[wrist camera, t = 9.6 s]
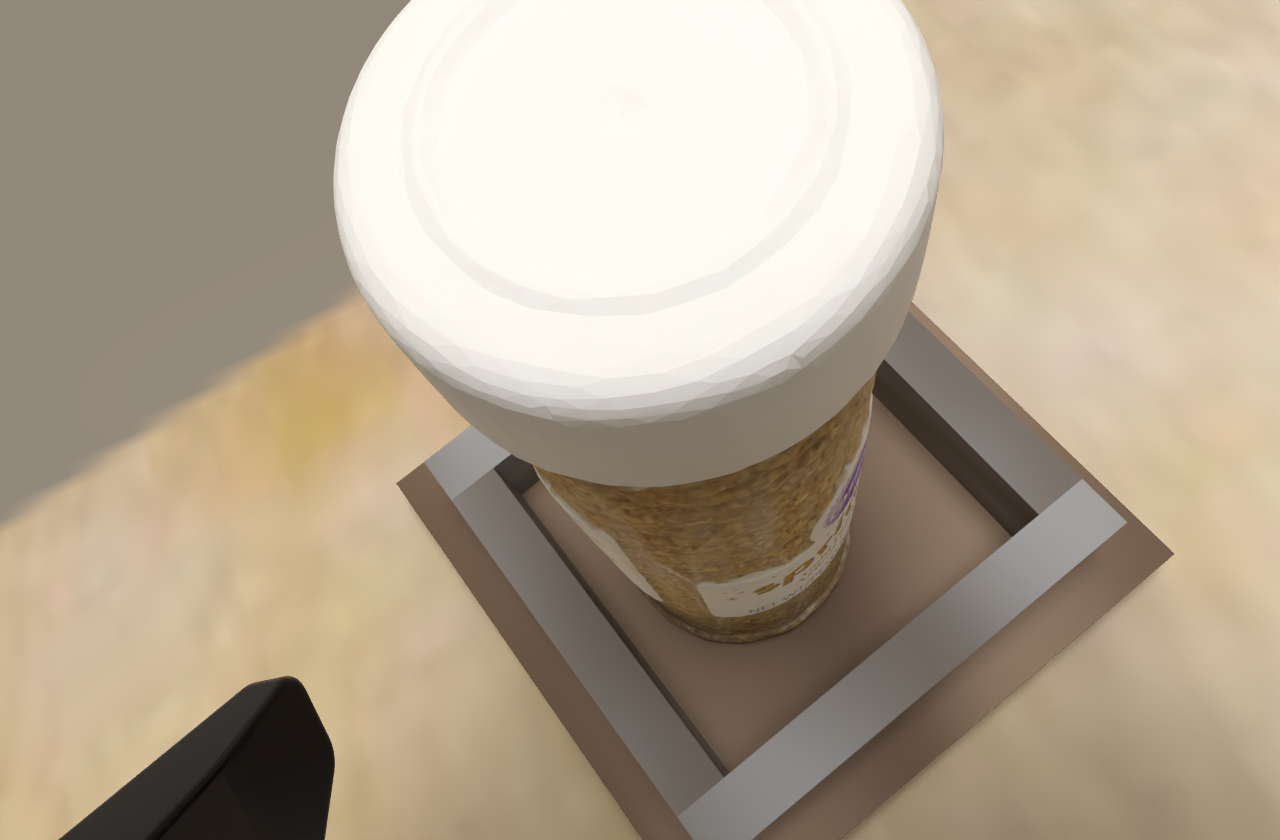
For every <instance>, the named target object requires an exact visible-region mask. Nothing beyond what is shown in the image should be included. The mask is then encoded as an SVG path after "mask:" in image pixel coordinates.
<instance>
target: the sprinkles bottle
mask: <svg viewBox="0 0 1280 840" xmlns="http://www.w3.org/2000/svg"><path fill="white" fill-rule="evenodd" d="M943 146H944V127H943V110H942V103H941V96H940V89H939V83H938V80H937V76H936V73H935V70H934V66H933V63H932V60H931V57H930V55H929V52H928V49H927V46H926V43H925V41H924V39H923V37H922V35H921V32H920V30H919V28H918V26H917V24H916V22H915V21H914V19H913V17H912V16H911V14H910V13H909V11H908V9H907V8H906V6H905V5H904V3H903V1H902V0H411V1H410V2H409V4H407V5H406V6H405V8H404V9H403V10H402V11H401V12H400V13H399V14H398V16H397V17H396V18H395V19H394V21H393V22H392V23H391V24H390V25H389V27H388V28H387V30H386V31H385V33H384V34H383V35H382V37H381V38H380V40H379V41H378V42H377V44H376V45H375V47H374V49H373V51H372V52H371V54H370V56H369V57H368V59H367V61H366V62H365V64H364V66H363V68H362V70H361V72H360V74H359V77H358V79H357V81H356V83H355V86H354V88H353V90H352V92H351V95H350V97H349V101H348V104H347V107H346V110H345V113H344V116H343V120H342V124H341V128H340V132H339V136H338V140H337V144H336V155H335V166H334V177H333V178H334V205H335V212H336V219H337V225H338V230H339V236H340V239H341V243H342V247H343V250H344V253H345V257H346V260H347V263H348V265H349V268H350V271H351V274H352V277H353V279H354V281H355V283H356V285H357V287H358V289H359V291H360V293H361V295H362V296H363V298H364V300H365V301H366V303H367V305H368V306H369V308H370V309H371V311H372V313H373V314H374V316H375V317H376V319H377V320H378V322H379V323H380V324H381V326H382V327H383V328H384V329H385V331H386V332H387V333H388V334H389V336H390V337H391V338H392V339H393V341H394V342H395V343H396V344H397V346H398V347H399V348H400V349H401V350H402V351H403V352H404V354H405V355H406V356H407V357H408V358H409V359H410V361H411V362H412V363H413V364H414V365H415V366H416V367H417V369H418V370H419V371H420V372H421V373H422V374H423V375H424V376H425V377H426V379H427V380H428V381H429V382H430V383H431V384H432V385H433V386H434V387H435V388H436V390H437V391H438V392H439V393H440V394H441V395H442V396H443V397H444V398H445V399H446V400H447V402H448V403H449V404H450V405H451V406H452V407H453V408H454V409H455V410H456V411H457V412H458V413H459V414H460V415H461V416H462V417H464V418H465V419H466V420H467V421H468V422H469V423H470V424H471V425H472V426H473V427H474V428H475V429H477V430H478V431H479V432H481V433H482V434H483V435H485V436H486V437H487V438H489V439H490V440H491V441H493V442H494V443H495V444H497V445H498V446H500V447H501V448H503V449H505V450H506V451H508V452H509V453H511V454H512V455H514V456H515V457H517V458H519V459H521V460H524V461H526V462H528V463H530V464H532V465H533V466H534V469H535V471H536V473H537V475H538V477H539V478H540V480H541V481H542V483H543V484H544V485H545V487H546V488H547V490H548V491H549V493H550V494H551V495H552V496H553V498H554V499H555V500H556V501H557V502H558V503H559V504H560V506H561V507H562V508H563V509H564V510H565V511H566V512H567V514H568V515H569V516H570V517H571V518H572V519H573V520H574V521H575V522H576V523H577V525H578V526H579V527H580V528H581V529H582V530H583V531H584V532H585V533H586V534H587V535H588V536H589V537H590V538H591V539H592V541H593V542H594V543H595V544H596V545H597V546H598V547H599V548H600V549H601V550H602V551H603V552H604V553H605V554H606V555H607V556H608V557H609V558H610V559H611V560H612V561H613V562H614V563H615V564H616V566H617V567H618V568H619V569H620V570H621V571H622V572H623V573H624V574H625V575H626V576H627V577H628V578H629V579H630V580H631V581H632V582H633V583H634V584H636V585H637V586H638V587H639V589H640V590H641V592H642V593H643V595H644V596H645V597H646V598H647V600H648V601H649V602H651V603H652V604H653V605H654V606H655V607H656V608H657V609H658V610H659V611H660V612H661V613H662V615H663V616H664V617H665V618H666V619H667V620H668V621H670V622H671V623H673V624H675V625H677V626H679V627H681V628H682V629H684V630H686V631H687V632H689V633H692V634H694V635H697V636H699V637H701V638H704V639H707V640H712V641H717V642H739V643H740V642H752V641H756V640H759V639H763V638H769V637H772V636H775V635H778V634H781V633H785V632H787V631H789V630H791V629H793V628H794V627H796V626H797V625H799V624H800V623H802V622H803V621H804V620H805V619H806V618H808V617H809V616H810V615H811V614H812V613H814V612H815V611H816V610H817V609H818V608H819V607H820V606H821V605H822V603H823V602H824V601H825V600H826V598H827V597H828V595H829V594H830V593H831V591H832V590H833V588H834V587H835V585H836V584H837V582H838V581H839V580H840V578H841V576H842V574H843V570H844V566H845V561H846V558H847V555H848V552H849V549H850V524H851V519H852V515H853V511H854V506H855V500H856V494H857V489H858V483H859V477H860V473H861V468H862V463H863V458H864V453H865V448H866V441H867V436H868V431H869V425H870V419H871V411H872V399H873V396H872V390H873V387H874V382H875V377H876V371H877V369H878V367H879V366H880V364H881V363H882V361H883V360H884V358H885V356H886V355H887V353H888V352H889V350H890V349H891V347H892V345H893V344H894V342H895V340H896V338H897V336H898V334H899V332H900V330H901V327H902V325H903V323H904V321H905V318H906V315H907V312H908V310H909V307H910V304H911V301H912V299H913V296H914V293H915V290H916V286H917V282H918V279H919V275H920V271H921V268H922V264H923V260H924V256H925V252H926V247H927V243H928V238H929V233H930V229H931V224H932V219H933V214H934V208H935V203H936V198H937V192H938V187H939V181H940V175H941V170H942V160H943Z"/></svg>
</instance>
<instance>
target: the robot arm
mask: <svg viewBox="0 0 1280 840" xmlns="http://www.w3.org/2000/svg"><path fill="white" fill-rule="evenodd" d="M334 768H335V758H334V751H333V747H332V743H331V741H330V738H329V736H328V734H327V732H326V730H325V728H324V726H323V724H322V722H321V720H320V718H319V716H318V714H317V712H316V710H315V708H314V706H313V704H312V702H311V699H310V697H309V695H308V693H307V691H306V689H305V688H304V686H303V685H302V683H301V682H300V681H299V680H298V679H296V678H294V677H291V676H284V677H279V678H274V679H270V680H265V681H260V682H255V683H252V684H250V685H248V686H246V687H245V688H243V689H242V690H241V691H240V692H238V693H237V694H236V695H235V696H234V697H232V698H231V699H230V700H229V701H227V702H226V703H225V704H224V705H223V706H221V707H220V708H219V709H218V710H216V711H215V712H214V713H213V714H212V715H210V716H209V717H208V718H207V719H205V720H204V721H203V722H202V723H201V724H199V725H198V726H197V727H196V728H194V729H193V730H192V731H191V732H190V733H188V734H187V735H186V736H185V737H183V738H182V739H181V740H180V741H179V742H177V743H176V744H175V745H174V746H173V747H171V748H170V749H169V750H168V751H166V752H165V753H164V754H163V755H162V756H160V757H159V758H158V759H157V760H155V761H154V762H153V763H152V764H151V765H149V766H148V767H147V768H146V769H144V770H143V771H142V772H141V773H140V774H138V775H137V776H136V777H135V778H133V779H132V780H131V781H130V782H129V783H127V784H126V785H125V786H124V787H122V788H121V789H120V790H119V791H118V792H116V793H115V794H114V795H113V796H111V797H110V798H109V799H108V800H107V801H105V802H104V803H103V804H102V805H100V806H99V807H98V808H97V809H96V810H94V811H93V812H92V813H91V814H89V815H88V816H87V817H86V818H85V819H83V820H82V821H81V822H80V823H78V824H77V825H76V826H75V827H74V828H72V829H71V830H70V831H69V832H67V833H66V834H65V835H64V836H63V837H61V838H60V839H59V840H325V834H326V827H327V820H328V813H329V805H330V798H331V791H332V784H333V777H334Z"/></svg>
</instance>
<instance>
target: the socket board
mask: <svg viewBox="0 0 1280 840" xmlns="http://www.w3.org/2000/svg"><path fill="white" fill-rule="evenodd" d="M872 396H873V399H872V411H871V419H870V425H869V431H868V436H867V441H866V448H865V453H864V458H863V463H862V468H861V473H860V477H859V483H858V489H857V494H856V500H855V506H854V511H853V515H852V519H851V524H850V549H849V552H848V555H847V558H846V561H845V566H844V570H843V574H842V576H841V578H840V580H839V581H838V582H837V584H836V585H835V587H834V588H833V590H832V591H831V593H830V594H829V595H828V597H827V598H826V600H825V601H824V602H823V603H822V605H821V606H820V607H819V608H818V609H817V610H816V611H815V612H814V613H812V614H811V615H810V616H809V617H808V618H806V619H805V620H804V621H803V622H802V623H800V624H799V625H797V626H796V627H794V628H793V629H791V630H789V631H787V632H785V633H781V634H778V635H775V636H772V637H769V638H763V639H759V640H756V641H752V642H740V643H739V642H717V641H712V640H707V639H704V638H701V637H699V636H697V635H694V634H692V633H689V632H687V631H686V630H684V629H682V628H681V627H679V626H677V625H675V624H673V623H671V622H670V621H668V620H667V619H666V618H665V617H664V616H663V615H662V613H661V612H660V611H659V610H658V609H657V608H656V607H655V606H654V605H653V604H652V603H651V602H649V601H648V600H647V598H646V597H645V596H644V595H643V593H642V592H641V590H640V589H639V587H638V586H637V585H636V584H634V583H633V582H632V581H631V580H630V579H629V578H628V577H627V576H626V575H625V574H624V573H623V572H622V571H621V570H620V569H619V568H618V567H617V566H616V564H615V563H614V562H613V561H612V560H611V559H610V558H609V557H608V556H607V555H606V554H605V553H604V552H603V551H602V550H601V549H600V548H599V547H598V546H597V545H596V544H595V543H594V542H593V541H592V539H591V538H590V537H589V536H588V535H587V534H586V533H585V532H584V531H583V530H582V529H581V528H580V527H579V526H578V525H577V523H576V522H575V521H574V520H573V519H572V518H571V517H570V516H569V515H568V514H567V512H566V511H565V510H564V509H563V508H562V507H561V506H560V504H559V503H558V502H557V501H556V500H555V499H554V498H553V496H552V495H551V494H550V493H549V491H548V490H547V488H546V487H545V485H544V484H543V483H542V481H541V480H540V478H539V477H538V475H537V473H536V471H535V469H534V466H533V465H532V464H530V463H528V462H526V461H524V460H521V459H519V458H517V457H515V456H514V455H512V454H511V453H509V452H508V451H506V450H505V449H503V448H501V447H500V446H498V445H497V444H495V443H494V442H493V441H491V440H490V439H489V438H487V437H486V436H485V435H483V434H482V433H481V432H479V431H478V430H477V429H475V428H474V427H473V426H472V425H471V426H470V427H469V428H468V429H466V430H465V431H464V432H462V433H461V434H460V435H458V436H457V437H456V438H455V439H453V440H452V441H451V442H449V443H448V444H447V445H445V446H444V447H443V448H442V449H440V450H439V451H438V452H436V453H435V454H434V455H432V456H431V457H430V458H429V459H427V460H426V461H425V462H424V463H422V464H421V465H420V466H418V467H417V468H416V469H415V470H413V471H412V472H411V473H409V474H408V475H407V476H405V477H404V478H403V479H402V480H400V481H399V482H398V483H397V485H398V486H399V488H400V489H401V491H402V492H403V494H404V495H405V496H406V498H407V499H408V501H409V502H410V504H411V505H412V507H413V508H414V509H415V511H416V512H417V514H418V515H419V517H420V518H421V520H422V521H423V522H424V524H425V525H426V527H427V528H428V530H429V531H430V533H431V534H432V535H433V537H434V538H435V540H436V541H437V543H438V544H439V546H440V547H441V548H442V550H443V551H444V553H445V554H446V556H447V557H448V559H449V560H450V561H451V563H452V564H453V566H454V567H455V569H456V570H457V572H458V573H459V574H460V576H461V577H462V579H463V580H464V582H465V583H466V585H467V586H468V588H469V589H470V590H471V592H472V593H473V595H474V596H475V598H476V599H477V601H478V602H479V603H480V605H481V606H482V608H483V609H484V611H485V612H486V614H487V615H488V616H489V618H490V619H491V621H492V622H493V624H494V625H495V627H496V628H497V629H498V631H499V632H500V634H501V635H502V637H503V638H504V640H505V641H506V642H507V644H508V645H509V647H510V648H511V650H512V651H513V653H514V654H515V655H516V657H517V658H518V660H519V661H520V663H521V664H522V666H523V667H524V669H525V670H526V671H527V673H528V674H529V676H530V677H531V679H532V680H533V682H534V683H535V684H536V686H537V687H538V689H539V690H540V692H541V693H542V695H543V696H544V697H545V699H546V700H547V702H548V703H549V705H550V706H551V708H552V709H553V710H554V712H555V713H556V715H557V716H558V718H559V719H560V721H561V722H562V723H563V725H564V726H565V728H566V729H567V731H568V732H569V734H570V735H571V736H572V738H573V739H574V741H575V742H576V744H577V745H578V747H579V748H580V749H581V751H582V752H583V754H584V755H585V757H586V758H587V760H588V761H589V763H590V764H591V765H592V767H593V768H594V770H595V771H596V773H597V774H598V776H599V777H600V778H601V780H602V781H603V783H604V784H605V786H606V787H607V789H608V790H609V791H610V793H611V794H612V796H613V797H614V799H615V800H616V802H617V803H618V804H619V806H620V807H621V809H622V810H623V812H624V813H625V815H626V816H627V817H628V819H629V820H630V822H631V823H632V825H633V826H634V828H635V829H636V830H637V832H638V833H639V835H640V836H641V838H642V839H643V840H840V839H841V838H842V837H843V836H845V835H846V834H847V833H848V832H849V831H850V830H852V829H853V828H854V827H855V826H856V825H858V824H859V823H860V822H861V821H862V820H863V819H865V818H866V817H867V816H868V815H869V814H870V813H872V812H873V811H874V810H875V809H876V808H877V807H879V806H880V805H881V804H882V803H883V802H884V801H886V800H887V799H888V798H889V797H890V796H891V795H893V794H894V793H895V792H896V791H897V790H899V789H900V788H901V787H902V786H903V785H904V784H906V783H907V782H908V781H909V780H910V779H911V778H913V777H914V776H915V775H916V774H917V773H918V772H920V771H921V770H922V769H923V768H924V767H925V766H927V765H928V764H929V763H930V762H931V761H932V760H934V759H935V758H936V757H937V756H938V755H940V754H941V753H942V752H943V751H944V750H945V749H947V748H948V747H949V746H950V745H951V744H952V743H954V742H955V741H956V740H957V739H958V738H959V737H961V736H962V735H963V734H964V733H965V732H966V731H968V730H969V729H970V728H971V727H972V726H973V725H975V724H976V723H977V722H978V721H979V720H981V719H982V718H983V717H984V716H985V715H986V714H988V713H989V712H990V711H991V710H992V709H993V708H995V707H996V706H997V705H998V704H999V703H1000V702H1002V701H1003V700H1004V699H1005V698H1006V697H1007V696H1009V695H1010V694H1011V693H1012V692H1013V691H1014V690H1016V689H1017V688H1018V687H1019V686H1020V685H1022V684H1023V683H1024V682H1025V681H1026V680H1027V679H1029V678H1030V677H1031V676H1032V675H1033V674H1034V673H1036V672H1037V671H1038V670H1039V669H1040V668H1041V667H1043V666H1044V665H1045V664H1046V663H1047V662H1048V661H1050V660H1051V659H1052V658H1053V657H1054V656H1056V655H1057V654H1058V653H1059V652H1060V651H1061V650H1063V649H1064V648H1065V647H1066V646H1067V645H1068V644H1070V643H1071V642H1072V641H1073V640H1074V639H1075V638H1077V637H1078V636H1079V635H1080V634H1081V633H1082V632H1084V631H1085V630H1086V629H1087V628H1088V627H1089V626H1091V625H1092V624H1093V623H1094V622H1095V621H1097V620H1098V619H1099V618H1100V617H1101V616H1102V615H1104V614H1105V613H1106V612H1107V611H1108V610H1109V609H1111V608H1112V607H1113V606H1114V605H1115V604H1116V603H1118V602H1119V601H1120V600H1121V599H1122V598H1123V597H1125V596H1126V595H1127V594H1128V593H1129V592H1130V591H1132V590H1133V589H1134V588H1135V587H1136V586H1138V585H1139V584H1140V583H1141V582H1142V581H1143V580H1145V579H1146V578H1147V577H1148V576H1149V575H1150V574H1152V573H1153V572H1154V571H1155V570H1156V569H1157V568H1159V567H1160V566H1161V565H1162V564H1163V563H1164V562H1166V561H1167V560H1168V559H1169V558H1170V557H1171V556H1173V555H1174V553H1173V552H1172V551H1171V550H1170V549H1169V548H1168V547H1167V546H1166V545H1165V544H1164V543H1163V542H1161V541H1160V540H1159V539H1158V538H1157V537H1156V536H1155V535H1154V534H1153V533H1152V532H1151V531H1150V530H1149V529H1148V528H1147V527H1146V526H1145V525H1144V524H1143V523H1142V522H1141V521H1140V520H1139V519H1137V518H1136V517H1135V516H1134V515H1133V514H1132V513H1131V512H1130V511H1129V510H1128V509H1127V508H1126V507H1125V506H1124V505H1123V504H1122V503H1121V502H1120V501H1119V500H1118V499H1117V498H1116V497H1115V496H1113V495H1112V494H1111V493H1110V492H1109V491H1108V490H1107V489H1106V488H1105V487H1104V486H1103V485H1102V484H1101V483H1100V482H1099V481H1098V480H1097V479H1096V478H1095V477H1094V476H1093V475H1092V474H1091V473H1090V472H1088V471H1087V470H1086V469H1085V468H1084V467H1083V466H1082V465H1081V464H1080V463H1079V462H1078V461H1077V460H1076V459H1075V458H1074V457H1073V456H1072V455H1071V454H1070V453H1069V452H1068V451H1067V450H1066V449H1064V448H1063V447H1062V446H1061V445H1060V444H1059V443H1058V442H1057V441H1056V440H1055V439H1054V438H1053V437H1052V436H1051V435H1050V434H1049V433H1048V432H1047V431H1046V430H1045V429H1044V428H1043V427H1042V426H1040V425H1039V424H1038V423H1037V422H1036V421H1035V420H1034V419H1033V418H1032V417H1031V416H1030V415H1029V414H1028V413H1027V412H1026V411H1025V410H1024V409H1023V408H1022V407H1021V406H1020V405H1019V404H1018V403H1017V402H1015V401H1014V400H1013V399H1012V398H1011V397H1010V396H1009V395H1008V394H1007V393H1006V392H1005V391H1004V390H1003V389H1002V388H1001V387H1000V386H999V385H998V384H997V383H996V382H995V381H994V380H993V379H991V378H990V377H989V376H988V375H987V374H986V373H985V372H984V371H983V370H982V369H981V368H980V367H979V366H978V365H977V364H976V363H975V362H974V361H973V360H972V359H971V358H970V357H969V356H968V355H966V354H965V353H964V352H963V351H962V350H961V349H960V348H959V347H958V346H957V345H956V344H955V343H954V342H953V341H952V340H951V339H950V338H949V337H948V336H947V335H946V334H945V333H944V332H942V331H941V330H940V329H939V328H938V327H937V326H936V325H935V324H934V323H933V322H932V321H931V320H930V319H929V318H928V317H927V316H926V315H925V314H924V313H923V312H922V311H921V310H920V309H918V308H917V307H916V306H915V305H914V304H913V303H912V302H911V304H910V307H909V310H908V312H907V315H906V318H905V321H904V323H903V325H902V327H901V330H900V332H899V334H898V336H897V338H896V340H895V342H894V344H893V345H892V347H891V349H890V350H889V352H888V353H887V355H886V356H885V358H884V360H883V361H882V363H881V364H880V366H879V367H878V369H877V371H876V377H875V382H874V387H873V390H872Z"/></svg>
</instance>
